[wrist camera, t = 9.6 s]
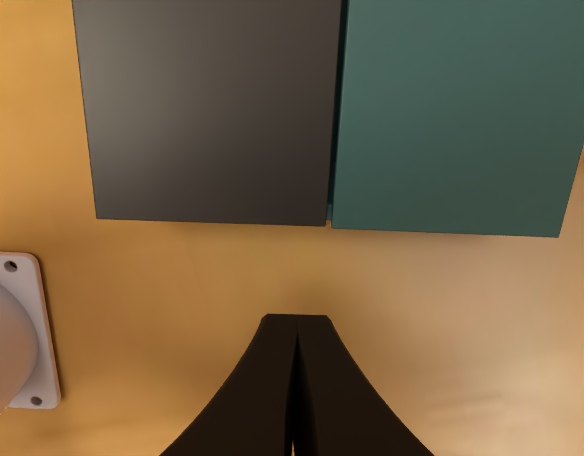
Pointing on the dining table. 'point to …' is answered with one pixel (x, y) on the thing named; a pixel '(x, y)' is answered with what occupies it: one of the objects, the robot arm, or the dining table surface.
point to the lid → (209, 108)
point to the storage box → (457, 116)
